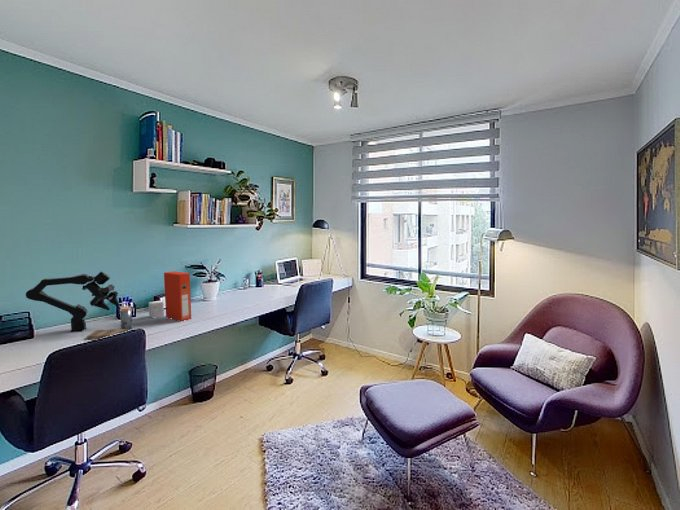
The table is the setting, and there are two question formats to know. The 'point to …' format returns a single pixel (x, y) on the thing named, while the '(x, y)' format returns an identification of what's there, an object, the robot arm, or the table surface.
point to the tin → (126, 319)
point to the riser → (104, 333)
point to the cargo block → (125, 309)
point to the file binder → (177, 295)
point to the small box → (156, 309)
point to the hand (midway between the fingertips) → (114, 307)
